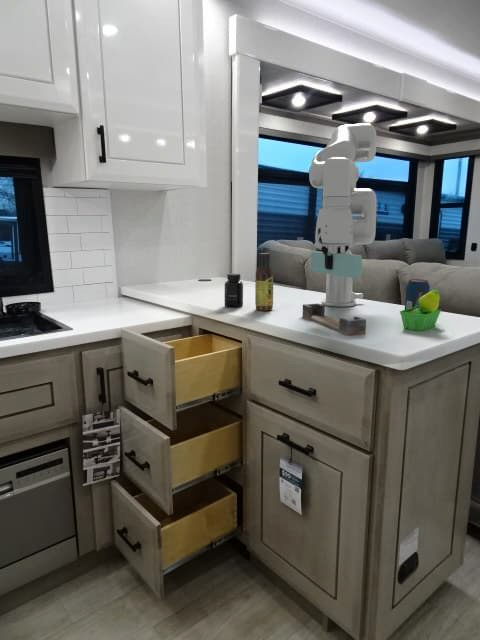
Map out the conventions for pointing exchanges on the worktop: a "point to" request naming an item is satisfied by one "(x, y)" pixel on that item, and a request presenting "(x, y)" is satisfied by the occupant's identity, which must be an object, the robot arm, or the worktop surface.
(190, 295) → the worktop surface
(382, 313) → the worktop surface
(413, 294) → the soda can
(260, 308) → the sauce bottle
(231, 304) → the supplement bottle
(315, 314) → the endcap rail
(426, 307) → the fruit basket
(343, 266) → the slat
